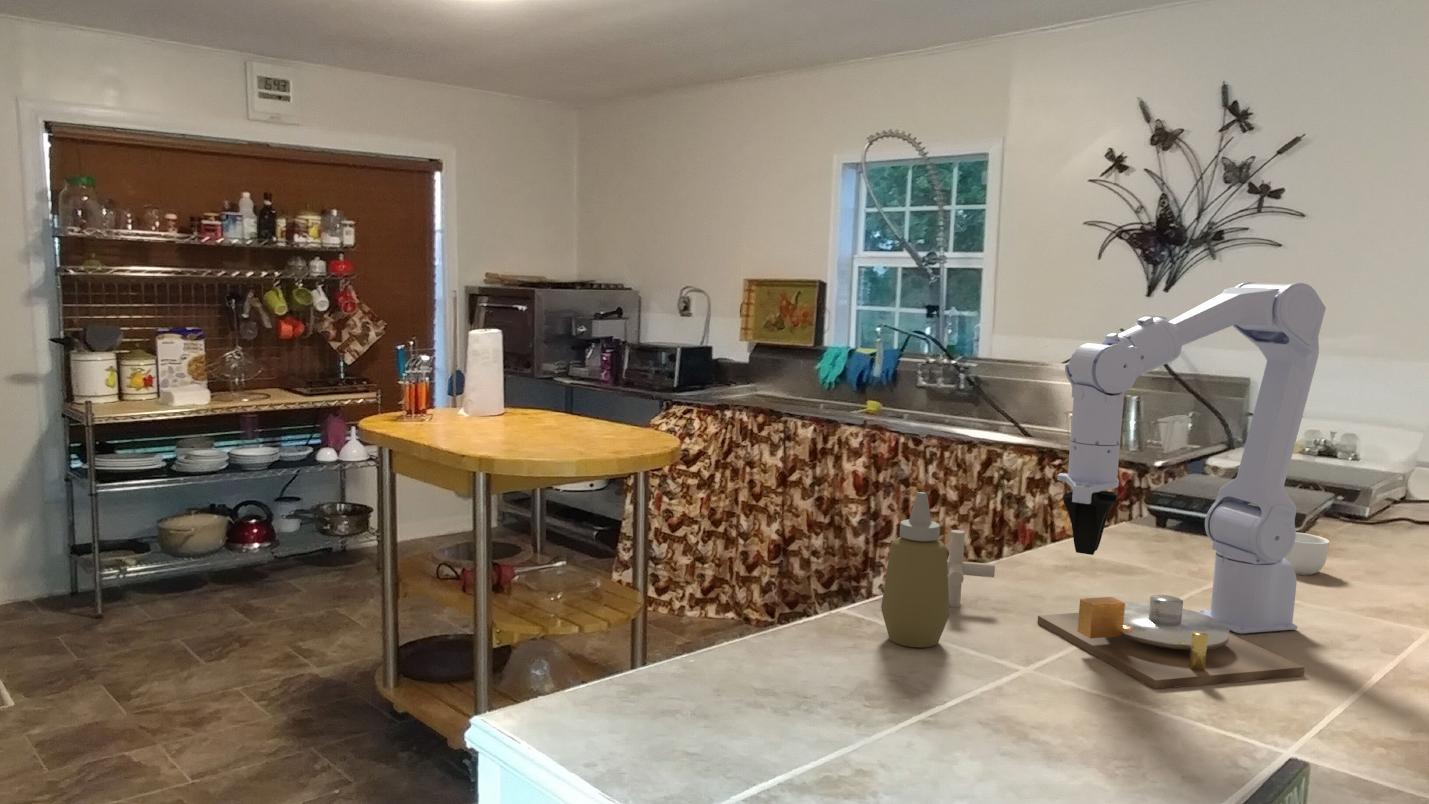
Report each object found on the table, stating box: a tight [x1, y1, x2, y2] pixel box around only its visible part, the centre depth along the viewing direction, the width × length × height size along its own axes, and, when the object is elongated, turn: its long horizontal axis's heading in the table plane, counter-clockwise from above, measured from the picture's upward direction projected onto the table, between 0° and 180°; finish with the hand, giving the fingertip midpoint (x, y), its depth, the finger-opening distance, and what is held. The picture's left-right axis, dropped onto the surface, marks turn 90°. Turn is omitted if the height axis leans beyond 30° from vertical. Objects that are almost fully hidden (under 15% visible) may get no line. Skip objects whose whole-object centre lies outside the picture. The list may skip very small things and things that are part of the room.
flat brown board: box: [1037, 612, 1305, 690], centre depth 125 cm, size 20×22×2 cm
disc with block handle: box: [1078, 594, 1231, 650], centre depth 124 cm, size 18×14×4 cm
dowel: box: [1189, 632, 1208, 672], centre depth 116 cm, size 2×2×4 cm
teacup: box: [1284, 531, 1330, 576], centre depth 164 cm, size 10×8×5 cm
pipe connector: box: [947, 529, 996, 608], centre depth 139 cm, size 10×10×10 cm
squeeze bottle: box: [880, 491, 950, 649], centre depth 124 cm, size 8×8×18 cm
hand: (1086, 551), depth 129 cm, fingers closed
